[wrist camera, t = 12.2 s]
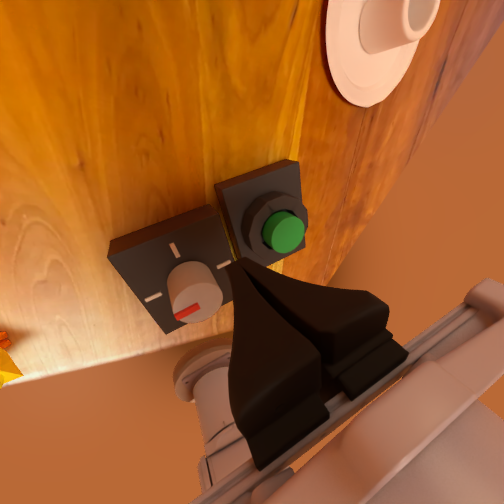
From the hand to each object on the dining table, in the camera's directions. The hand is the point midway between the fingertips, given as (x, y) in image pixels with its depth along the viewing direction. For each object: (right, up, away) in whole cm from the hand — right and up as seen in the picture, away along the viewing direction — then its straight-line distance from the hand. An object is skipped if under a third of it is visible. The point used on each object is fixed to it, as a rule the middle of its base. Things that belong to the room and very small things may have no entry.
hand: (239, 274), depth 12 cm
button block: (+2, +5, +11) cm, 13 cm away
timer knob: (-5, -1, +7) cm, 9 cm away
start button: (+3, +3, +8) cm, 10 cm away
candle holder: (+12, +22, +7) cm, 26 cm away
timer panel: (-6, 0, +10) cm, 12 cm away
